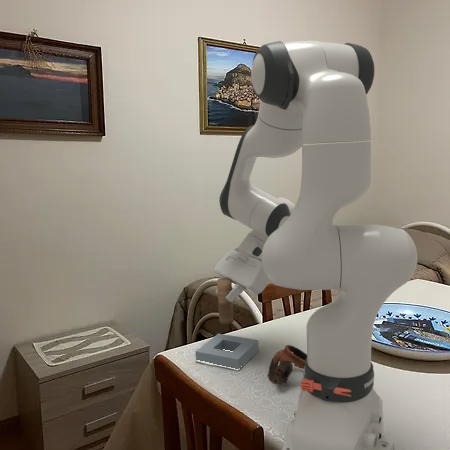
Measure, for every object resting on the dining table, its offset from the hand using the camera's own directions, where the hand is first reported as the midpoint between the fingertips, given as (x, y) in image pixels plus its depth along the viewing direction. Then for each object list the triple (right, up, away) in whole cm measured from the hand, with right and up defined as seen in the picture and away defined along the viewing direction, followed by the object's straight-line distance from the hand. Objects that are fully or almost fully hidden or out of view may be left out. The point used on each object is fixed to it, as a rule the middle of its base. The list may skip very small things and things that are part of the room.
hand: (222, 297), depth 115 cm
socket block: (+1, -16, +3) cm, 16 cm away
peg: (+1, -6, +1) cm, 7 cm away
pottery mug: (+15, -17, -10) cm, 25 cm away
